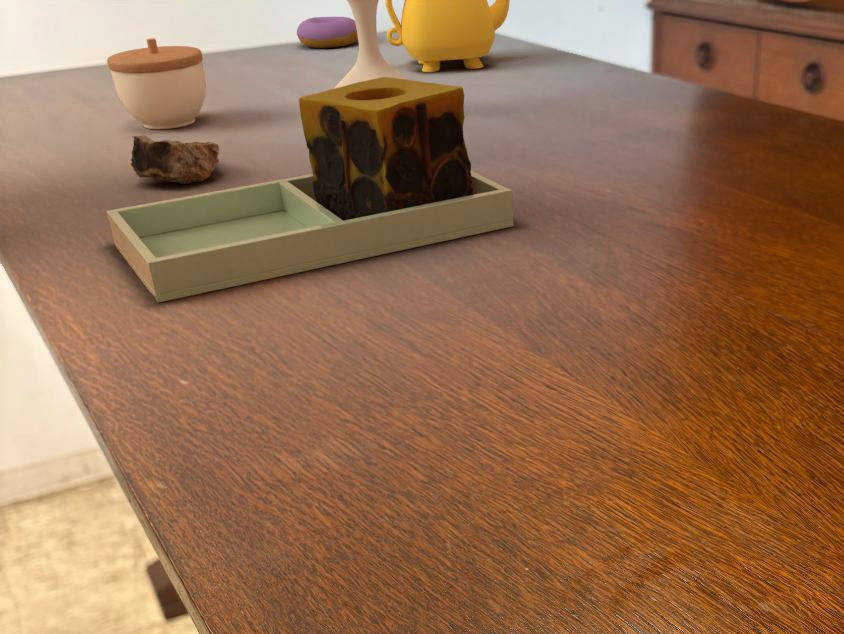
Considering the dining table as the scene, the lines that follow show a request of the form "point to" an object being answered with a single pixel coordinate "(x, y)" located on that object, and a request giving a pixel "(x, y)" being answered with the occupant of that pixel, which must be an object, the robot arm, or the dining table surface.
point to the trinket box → (160, 84)
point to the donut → (327, 32)
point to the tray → (281, 233)
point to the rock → (173, 160)
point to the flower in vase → (367, 46)
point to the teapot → (447, 30)
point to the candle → (386, 146)
